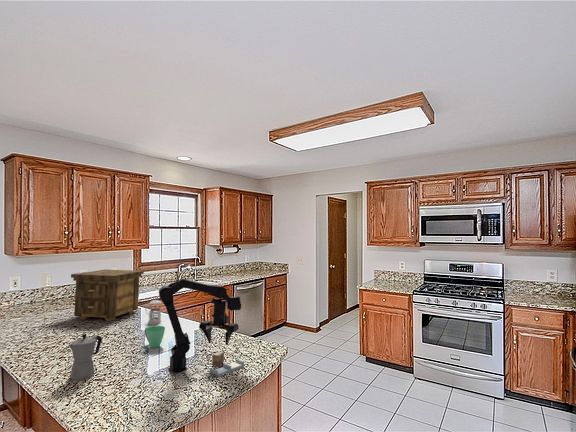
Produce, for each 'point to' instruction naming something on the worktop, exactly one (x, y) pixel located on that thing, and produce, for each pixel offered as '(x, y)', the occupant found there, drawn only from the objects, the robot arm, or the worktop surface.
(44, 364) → the worktop surface
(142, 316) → the worktop surface
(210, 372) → the bracket
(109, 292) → the wooden drawer cabinet
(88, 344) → the coffeepot
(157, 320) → the french press
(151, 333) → the green cup
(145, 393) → the worktop surface
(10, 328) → the worktop surface
